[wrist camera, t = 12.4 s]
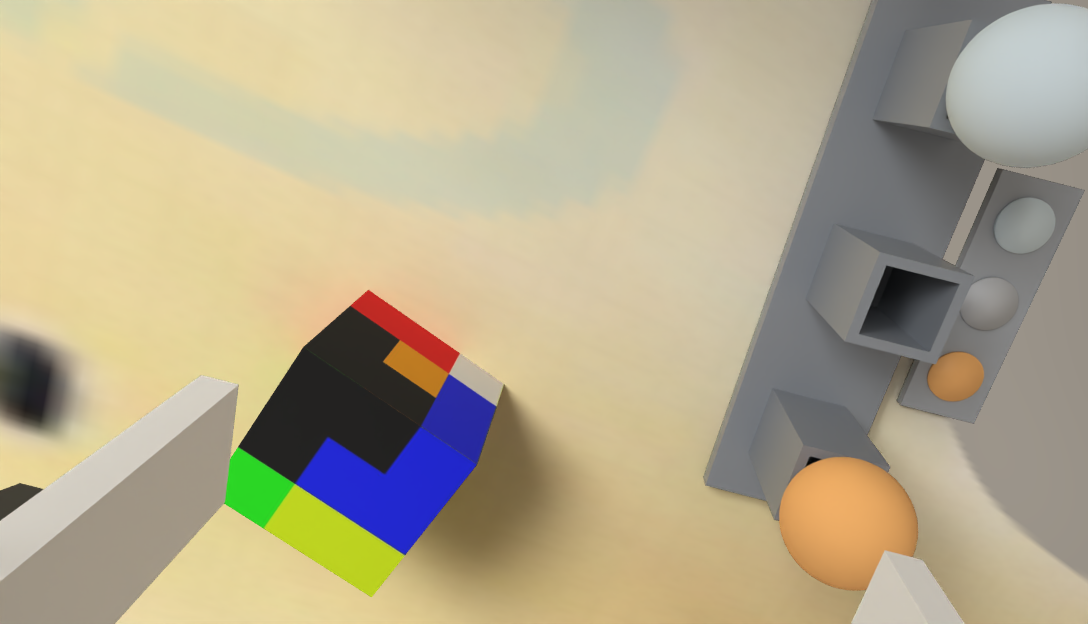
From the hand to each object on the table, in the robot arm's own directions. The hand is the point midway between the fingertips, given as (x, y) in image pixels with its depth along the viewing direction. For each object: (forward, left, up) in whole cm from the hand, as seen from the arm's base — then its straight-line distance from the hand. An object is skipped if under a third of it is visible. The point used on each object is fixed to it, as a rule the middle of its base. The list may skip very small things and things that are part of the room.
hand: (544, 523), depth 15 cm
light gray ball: (-12, +15, -18) cm, 26 cm away
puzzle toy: (+13, -9, -29) cm, 33 cm away
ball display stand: (-2, +15, -29) cm, 32 cm away
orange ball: (+8, +15, -18) cm, 25 cm away
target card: (-2, +23, -29) cm, 37 cm away
